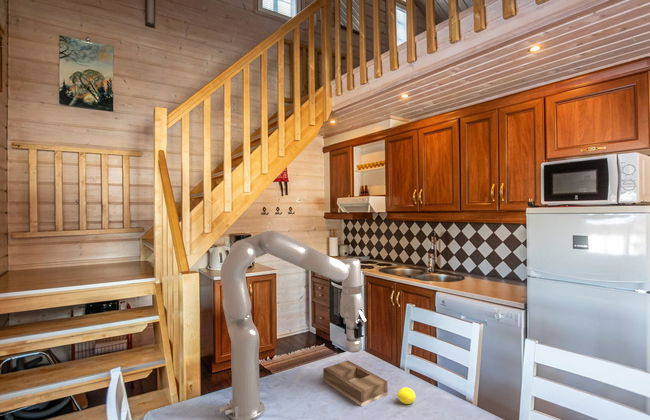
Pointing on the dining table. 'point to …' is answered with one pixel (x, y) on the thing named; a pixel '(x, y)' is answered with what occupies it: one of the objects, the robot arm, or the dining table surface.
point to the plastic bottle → (351, 336)
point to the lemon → (406, 395)
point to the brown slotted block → (355, 382)
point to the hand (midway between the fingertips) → (353, 335)
